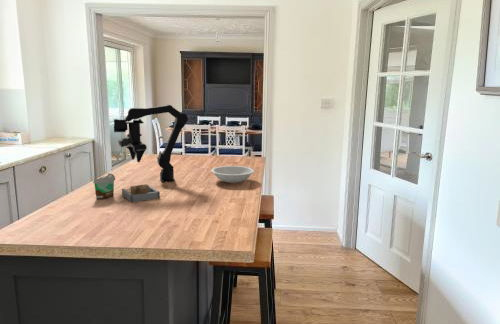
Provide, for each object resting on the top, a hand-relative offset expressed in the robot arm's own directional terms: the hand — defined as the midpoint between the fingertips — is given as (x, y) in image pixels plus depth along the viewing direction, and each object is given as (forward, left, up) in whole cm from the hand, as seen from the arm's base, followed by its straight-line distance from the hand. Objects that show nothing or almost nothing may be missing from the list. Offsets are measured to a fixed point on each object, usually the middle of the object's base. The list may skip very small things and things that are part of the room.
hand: (135, 160), depth 197 cm
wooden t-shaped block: (+7, +29, -12) cm, 32 cm away
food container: (+20, +20, -12) cm, 31 cm away
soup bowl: (-46, +25, -12) cm, 54 cm away
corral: (+7, +27, -12) cm, 30 cm away
